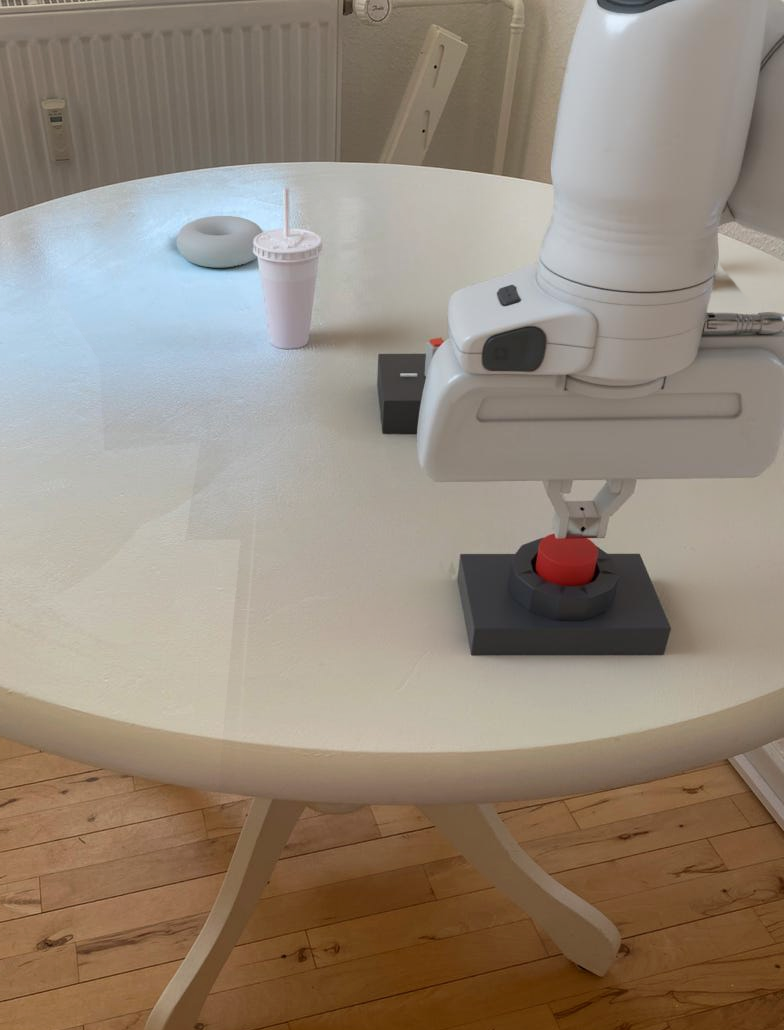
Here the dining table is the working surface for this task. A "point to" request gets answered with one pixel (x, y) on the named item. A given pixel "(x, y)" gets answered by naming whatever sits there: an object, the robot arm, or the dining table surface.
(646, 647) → the power switch
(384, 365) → the panel
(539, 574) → the power button
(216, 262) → the donut
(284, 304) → the smoothie
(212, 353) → the dining table surface
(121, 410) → the dining table surface
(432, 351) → the grey block
